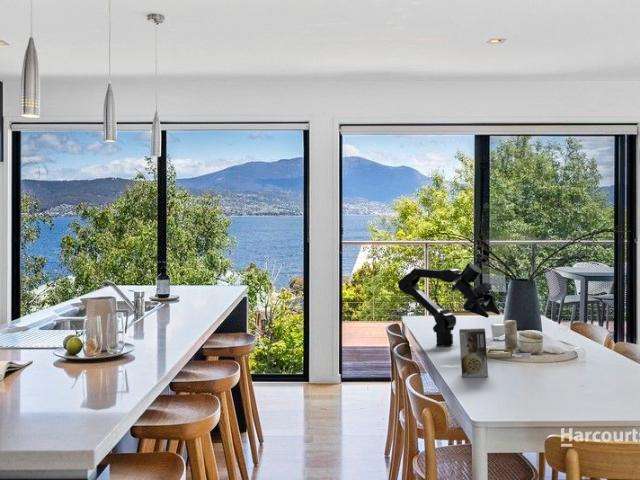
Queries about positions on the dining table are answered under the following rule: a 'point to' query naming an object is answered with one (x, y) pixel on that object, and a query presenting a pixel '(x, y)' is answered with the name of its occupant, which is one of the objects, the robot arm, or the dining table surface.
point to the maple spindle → (510, 334)
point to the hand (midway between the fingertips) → (493, 315)
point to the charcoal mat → (524, 356)
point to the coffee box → (473, 352)
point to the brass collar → (502, 355)
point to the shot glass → (497, 329)
